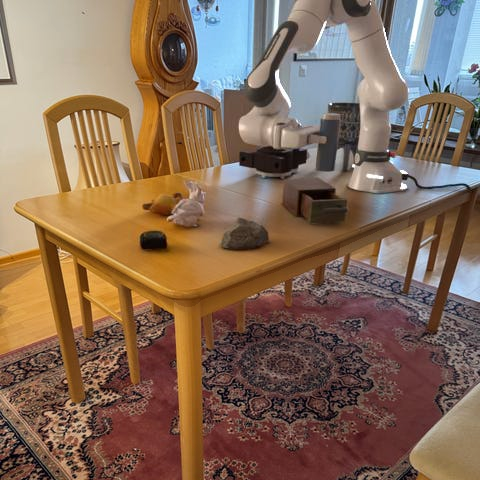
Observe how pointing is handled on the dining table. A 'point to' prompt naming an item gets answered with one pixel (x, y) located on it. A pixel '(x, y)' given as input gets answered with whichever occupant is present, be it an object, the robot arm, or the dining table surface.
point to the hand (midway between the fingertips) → (331, 138)
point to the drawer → (322, 207)
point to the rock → (244, 235)
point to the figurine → (189, 206)
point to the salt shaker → (329, 149)
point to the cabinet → (297, 186)
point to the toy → (163, 204)
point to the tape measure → (153, 240)
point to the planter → (347, 128)
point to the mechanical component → (274, 161)
